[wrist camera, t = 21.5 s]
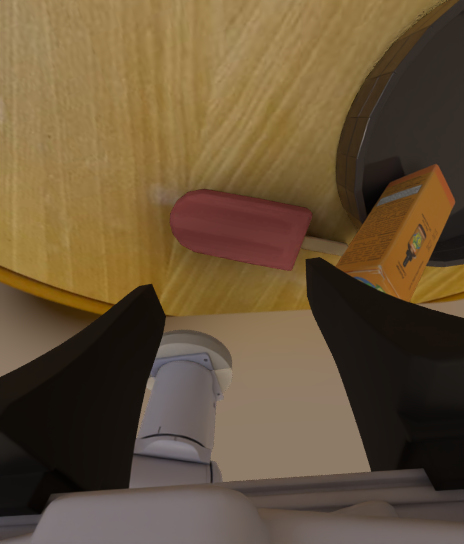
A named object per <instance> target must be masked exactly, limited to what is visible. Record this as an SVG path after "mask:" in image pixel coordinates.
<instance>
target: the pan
mask: <svg viewBox="0 0 464 544" xmlns="http://www.w3.org/2000/svg"><path fill="white" fill-rule="evenodd" d="M434 164H437V165H438V166H439V168H440V170H441V172H442V174H443V176H444V178H445V180H446V182H447V184H448V186H449V188H450V191H451V193H452V195H453V197H454V199H455V204H454V206H453V208H452V210H451V213H450V215H449V217H448V219H447V221H446V224H445V226H444V228H443V230H442V233H441V235H440V237H439V239H438V241H437V243H436V245H435V248H434V250H433V252H432V254H431V256H430V258H429V261H428V263H427V265H426V266H433V267H448V266H454V265H461V264H464V0H448V1H446V2H445V3H443V4H441V5H439V6H437V7H436V8H435V9H433V10H432V11H431V12H430V13H428V14H427V15H426V16H424V17H423V18H422V19H421V20H419V21H418V22H417V23H416V24H414V25H413V26H412V27H411V28H409V29H408V30H407V31H406V32H405V33H404V34H403V35H402V36H401V37H400V38H399V39H398V40H397V41H396V42H395V43H394V44H393V45H392V46H391V47H390V49H389V50H388V51H387V52H386V53H385V55H384V56H383V57H382V58H381V59H380V61H379V62H378V63H377V64H376V66H375V67H374V69H373V70H372V72H371V73H370V75H369V76H368V77H367V79H366V80H365V82H364V84H363V85H362V87H361V89H360V91H359V93H358V94H357V96H356V98H355V100H354V102H353V104H352V106H351V109H350V111H349V113H348V116H347V118H346V121H345V124H344V127H343V130H342V133H341V137H340V142H339V146H338V151H337V162H336V181H337V187H338V193H339V197H340V200H341V203H342V206H343V208H344V210H345V211H346V213H347V215H348V217H349V218H350V220H351V221H352V222H353V223H354V225H355V226H356V228H357V229H360V228H361V226H362V225H363V223H364V222H365V220H366V218H367V217H368V215H369V213H370V212H371V211H372V209H373V207H374V206H375V204H376V203H377V201H378V200H379V198H380V197H381V195H382V194H383V192H384V190H385V189H386V187H387V186H388V184H389V183H390V182H392V181H395V180H397V179H399V178H402V177H404V176H407V175H409V174H412V173H414V172H417V171H419V170H422V169H424V168H427V167H429V166H432V165H434Z"/></svg>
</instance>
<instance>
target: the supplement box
mask: <svg viewBox="0 0 464 544" xmlns="http://www.w3.org/2000/svg"><path fill="white" fill-rule="evenodd" d="M454 204H455V199H454V197H453V195H452V193H451V191H450V188H449V186H448V184H447V182H446V180H445V178H444V176H443V174H442V172H441V170H440V168H439V166H438V165H437V164H434V165H432V166H429V167H427V168H424V169H422V170H419V171H417V172H414V173H412V174H409V175H407V176H404V177H402V178H399V179H397V180H395V181H392V182H390V183H389V184H388V186H387V187H386V189H385V190H384V192H383V194H382V195H381V197H380V198H379V200H378V201H377V203H376V204H375V206H374V207H373V209H372V211H371V212H370V213H369V215H368V217H367V218H366V220H365V222H364V223H363V225H362V226H361V228H360V229H359V231H358V232H357V234H356V235H355V237H354V239H353V240H352V242H351V243H350V245H349V246H348V248H347V249H346V251H345V253H344V254H343V256H342V257H341V259H340V260H339V262H338V264H337V265H336V267H337V268H338V269H340V270H342V271H343V272H345V273H347V274H348V275H350V276H352V277H354V278H355V279H357V280H359V281H361V282H363V283H365V284H367V285H369V286H371V287H373V288H375V289H377V290H380V291H382V292H384V293H387V294H389V295H392V296H394V297H396V298H399V299H402V300H404V301H407V302H410V300H411V298H412V295H413V293H414V291H415V289H416V287H417V284H418V282H419V280H420V278H421V276H422V273H423V271H424V269H425V267H426V265H427V263H428V261H429V258H430V256H431V254H432V252H433V250H434V248H435V245H436V243H437V241H438V239H439V237H440V235H441V233H442V230H443V228H444V226H445V224H446V221H447V219H448V217H449V215H450V213H451V210H452V208H453V206H454Z"/></svg>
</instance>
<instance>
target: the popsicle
mask: <svg viewBox="0 0 464 544" xmlns="http://www.w3.org/2000/svg"><path fill="white" fill-rule="evenodd" d="M311 219H312V212H311V211H310V210H309V209H308V208H304V207H299V206H294V205H289V204H284V203H279V202H274V201H269V200H264V199H259V198H253V197H247V196H242V195H236V194H230V193H224V192H218V191H213V190H207V189H202V190H196V191H190V192H187V193H186V194H185V195H184V196H182V197H181V198H180V199H179V200H177V202H176V203H175V205H174V207H173V209H172V211H171V213H170V226H171V229H172V233H173V235H174V236H175V237H176V239H177V240H178V241H179V242H180V244H181V245H183V246H185V247H186V248H188V249H190V250H192V251H194V252H197V253H202V254H206V255H211V256H216V257H221V258H226V259H230V260H235V261H240V262H245V263H250V264H255V265H260V266H266V267H271V268H277V269H282V270H287V271H291V270H292V269H293V266H294V263H295V261H296V258H297V256H298V253H299V250H300V248H302V249H307V250H313V251H318V252H323V253H328V254H334V255H339V256H343V254H344V253H345V251H346V249H347V248H348V245H347V244H346V243H343V242H337V241H332V240H327V239H322V238H317V237H312V236H307V235H306V232H307V229H308V227H309V224H310V221H311Z"/></svg>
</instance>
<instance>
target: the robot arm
mask: <svg viewBox="0 0 464 544" xmlns="http://www.w3.org/2000/svg"><path fill="white" fill-rule="evenodd" d="M306 281H307V297H308V300H309V304H310V307H311V310H312V313H313V316H314V318H315V320H316V322H317V324H318V326H319V328H320V330H321V332H322V334H323V336H324V339H325V341H326V343H327V345H328V347H329V349H330V351H331V353H332V356H333V358H334V360H335V363H336V365H337V368H338V370H339V373H340V376H341V379H342V382H343V384H344V387H345V390H346V393H347V396H348V399H349V402H350V405H351V408H352V411H353V414H354V417H355V420H356V423H357V426H358V429H359V433H360V436H361V439H362V442H363V445H364V449H365V451H366V455H367V458H368V461H369V465H370V468H371V472H363V473H348V474H333V475H318V476H304V477H291V478H290V477H289V478H275V479H261V480H246V481H231V482H222V474H221V471H220V469H219V467H218V465H217V463H216V462H215V461H210V459H211V452H212V449H213V445H214V429H215V415H216V401H220V400H223V393H222V390H221V387H220V384H219V382H218V379H217V376H216V373H215V370H214V367H213V365H212V362H211V359H210V356H209V354H208V353H206V352H203V353H195V354H187V355H179V356H171V357H163V358H155V357H156V354H157V351H158V348H159V345H160V342H161V339H162V336H163V331H164V326H165V319H166V316H165V313H164V311H163V309H162V306H161V304H160V302H159V299H158V297H157V295H156V292H155V290H154V288H153V285H152V284H149V285H142V286H139V287H137V288H136V289H134V290H133V291H132V292H130V293H129V294H128V295H127V296H125V297H124V298H123V299H122V300H120V301H119V302H118V303H117V304H115V305H114V306H113V307H112V308H111V309H109V310H108V311H107V312H106V313H104V314H103V315H102V316H100V317H99V318H98V319H97V320H95V321H94V322H93V323H91V324H90V325H89V326H87V327H86V328H85V329H83V330H82V331H80V332H79V333H77V334H76V335H74V336H73V337H72V338H70V339H68V340H67V341H65V342H64V343H62V344H61V345H59V346H57V347H56V348H54V349H52V350H51V351H49V352H47V353H45V354H44V355H42V356H40V357H38V358H36V359H35V360H33V361H31V362H29V363H27V364H25V365H23V366H22V367H20V368H18V369H16V370H14V371H12V372H10V373H8V374H6V375H4V376H1V377H0V544H464V318H461V317H458V316H454V315H449V314H446V313H442V312H439V311H435V310H431V309H428V308H425V307H422V306H419V305H416V304H413V303H410V302H407V301H404V300H402V299H399V298H396V297H394V296H392V295H389V294H387V293H384V292H382V291H380V290H377V289H375V288H373V287H371V286H369V285H367V284H365V283H363V282H361V281H359V280H357V279H355V278H354V277H352V276H350V275H348V274H347V273H345V272H343V271H342V270H340V269H338V268H337V267H335V266H333V265H332V264H330V263H329V262H327V261H325V260H324V259H322V258H320V257H318V258H312V259H306ZM150 373H151V375H152V376H153V378H154V380H155V382H154V385H153V388H152V391H151V395H150V398H149V401H148V404H147V408H146V411H145V414H144V417H143V420H142V424H141V427H140V431H139V434H138V437H137V438H136V434H137V428H138V423H139V418H140V413H141V407H142V403H143V398H144V393H145V389H146V385H147V382H148V378H149V375H150Z"/></svg>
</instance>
